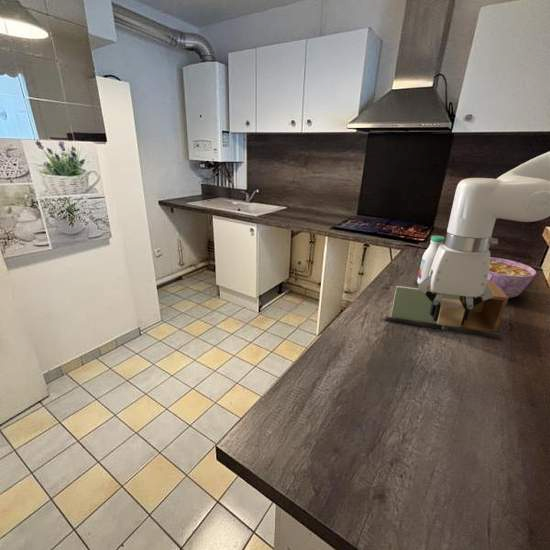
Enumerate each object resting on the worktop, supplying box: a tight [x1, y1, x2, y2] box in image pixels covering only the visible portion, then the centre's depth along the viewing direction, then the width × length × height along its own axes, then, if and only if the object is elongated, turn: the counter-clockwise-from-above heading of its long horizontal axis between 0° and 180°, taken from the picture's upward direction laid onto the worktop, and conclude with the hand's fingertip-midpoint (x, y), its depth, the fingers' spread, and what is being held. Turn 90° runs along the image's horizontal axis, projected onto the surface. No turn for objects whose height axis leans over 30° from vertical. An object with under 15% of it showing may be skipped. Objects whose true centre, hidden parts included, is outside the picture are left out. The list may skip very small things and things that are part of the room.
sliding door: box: [390, 285, 460, 331], centre depth 86 cm, size 17×7×11 cm, turn 72°
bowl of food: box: [487, 256, 537, 299], centre depth 108 cm, size 20×20×12 cm
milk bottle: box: [416, 235, 446, 288], centre depth 114 cm, size 8×8×20 cm
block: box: [437, 298, 465, 327], centre depth 65 cm, size 4×4×4 cm
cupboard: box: [385, 281, 510, 339], centre depth 92 cm, size 31×14×12 cm, turn 72°
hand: (446, 319), depth 66 cm, fingers closed on block, 4 cm apart
